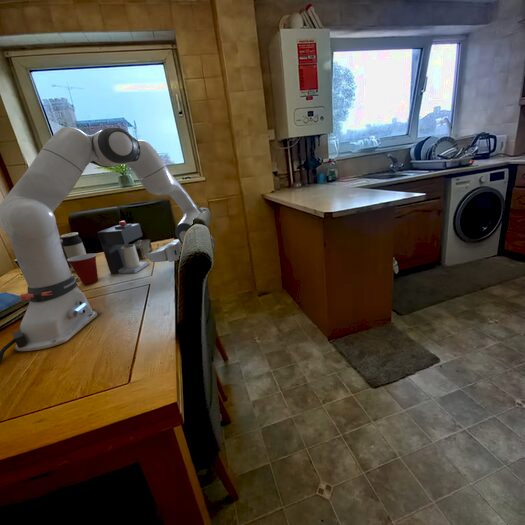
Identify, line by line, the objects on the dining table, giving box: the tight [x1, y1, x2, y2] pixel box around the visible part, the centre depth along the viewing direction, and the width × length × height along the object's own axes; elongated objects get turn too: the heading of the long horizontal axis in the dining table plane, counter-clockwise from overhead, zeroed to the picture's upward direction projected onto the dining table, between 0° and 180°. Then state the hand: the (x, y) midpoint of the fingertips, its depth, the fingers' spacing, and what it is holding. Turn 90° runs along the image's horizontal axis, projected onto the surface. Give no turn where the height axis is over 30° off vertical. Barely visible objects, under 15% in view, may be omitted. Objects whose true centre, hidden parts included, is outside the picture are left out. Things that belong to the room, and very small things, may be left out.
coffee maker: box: [97, 223, 149, 276], centre depth 128 cm, size 13×12×21 cm
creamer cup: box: [121, 244, 141, 268], centre depth 129 cm, size 6×6×10 cm
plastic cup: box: [67, 253, 99, 286], centre depth 119 cm, size 11×11×12 cm
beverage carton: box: [131, 239, 153, 260], centre depth 151 cm, size 8×19×7 cm, turn 6°
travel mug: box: [59, 232, 87, 272], centre depth 137 cm, size 8×8×18 cm
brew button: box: [118, 220, 127, 226], centre depth 123 cm, size 2×2×2 cm
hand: (151, 252), depth 125 cm, fingers open, 8 cm apart
